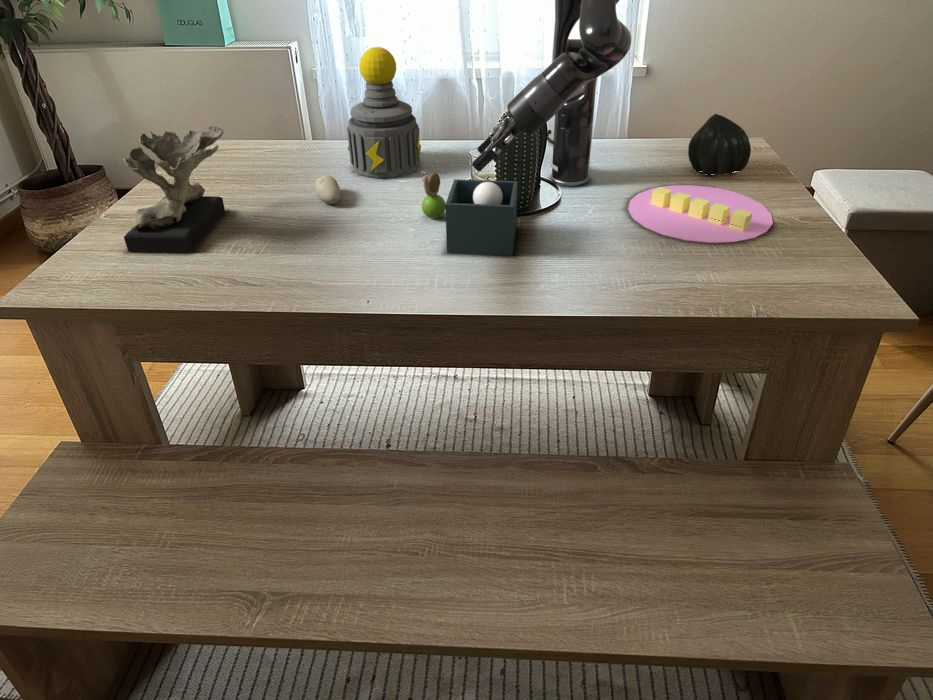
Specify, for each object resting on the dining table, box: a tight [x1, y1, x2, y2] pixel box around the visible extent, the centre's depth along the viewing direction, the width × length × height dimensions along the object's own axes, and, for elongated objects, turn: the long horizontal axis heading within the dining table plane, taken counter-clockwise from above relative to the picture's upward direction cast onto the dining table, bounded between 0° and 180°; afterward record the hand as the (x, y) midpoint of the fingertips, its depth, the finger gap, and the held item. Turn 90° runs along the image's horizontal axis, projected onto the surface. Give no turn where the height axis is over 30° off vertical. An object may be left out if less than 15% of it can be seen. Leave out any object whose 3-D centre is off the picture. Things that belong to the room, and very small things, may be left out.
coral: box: [122, 125, 226, 254], centre depth 151 cm, size 25×20×22 cm
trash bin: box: [445, 178, 519, 257], centre depth 147 cm, size 14×14×11 cm
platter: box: [627, 184, 774, 244], centre depth 160 cm, size 32×32×3 cm
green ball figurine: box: [421, 170, 446, 219], centre depth 157 cm, size 5×6×12 cm
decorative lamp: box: [346, 46, 422, 179], centre depth 179 cm, size 19×19×30 cm
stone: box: [314, 174, 342, 205], centre depth 169 cm, size 6×6×12 cm
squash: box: [687, 113, 752, 178], centre depth 178 cm, size 14×15×15 cm
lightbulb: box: [473, 182, 503, 205], centre depth 148 cm, size 6×6×11 cm
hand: (477, 160), depth 141 cm, fingers open, 8 cm apart
